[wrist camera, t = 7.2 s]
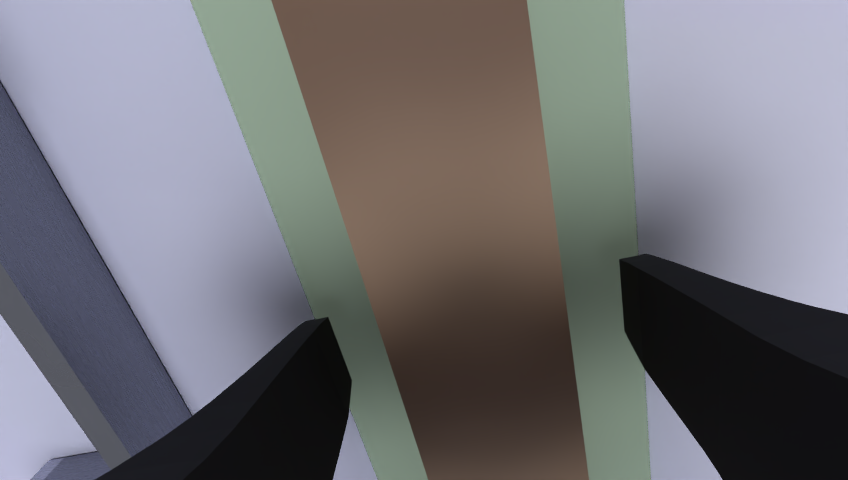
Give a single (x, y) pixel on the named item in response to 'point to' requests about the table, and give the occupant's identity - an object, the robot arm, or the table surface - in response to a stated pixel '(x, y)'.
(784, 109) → the table surface
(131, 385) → the standards
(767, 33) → the table surface
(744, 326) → the robot arm
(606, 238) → the mat
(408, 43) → the rail
